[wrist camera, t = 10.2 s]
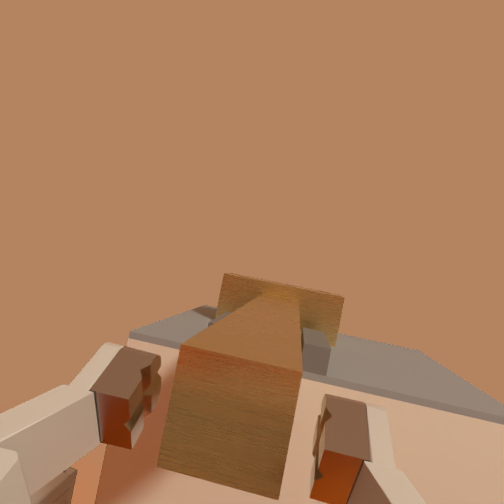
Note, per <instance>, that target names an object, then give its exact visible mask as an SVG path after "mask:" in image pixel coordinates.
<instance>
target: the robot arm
mask: <svg viewBox="0 0 504 504" xmlns="http://www.w3.org/2000/svg"><path fill="white" fill-rule="evenodd" d="M160 367H161V356H159V355H157V354H153V353H150V352H146V351H142V350H138V349H134V348H131V347H127V346H122V345H117V344H114V343H110V342H107V343H105V344H103V345H102V346H101V347H100V348H99V350H98V351H97V352H96V353H95V354H94V356H93V357H92V358H91V359H90V360H89V362H88V363H87V364H86V365H85V366H84V368H83V369H82V370H81V371H80V372H79V373H78V375H77V376H76V377H75V378H74V380H73V381H72V382H71V383H70V384H69V385H61V386H59V387H57V388H54V389H52V390H50V391H48V392H46V393H44V394H42V395H39V396H37V397H35V398H33V399H31V400H29V401H27V402H24V403H22V404H20V405H18V406H16V407H14V408H12V409H10V410H7V411H5V412H3V413H1V414H0V504H32V501H31V497H30V496H31V495H32V494H34V493H35V492H36V491H38V490H39V489H40V488H42V487H43V486H44V485H46V484H47V483H48V482H50V481H51V480H53V479H54V478H55V477H57V476H58V475H59V474H61V473H62V472H63V471H65V470H66V469H67V468H69V467H70V466H72V465H73V464H74V463H76V462H77V461H78V460H80V459H81V458H82V457H84V456H85V455H86V454H88V453H89V452H91V451H92V450H93V449H95V448H96V447H97V446H99V445H100V442H101V443H106V444H110V445H114V446H118V447H122V448H126V449H130V450H132V449H133V447H134V445H135V443H136V441H137V439H138V438H139V436H140V434H141V432H142V430H143V428H144V417H146V416H147V415H149V414H151V413H152V411H153V409H154V407H155V405H156V403H157V400H158V397H159V394H160V390H161V377H160V375H159V374H158V371H159V369H160ZM312 455H313V457H314V462H313V465H312V469H311V478H310V496H309V498H311V499H314V500H318V501H321V502H324V503H327V504H427V503H426V502H425V501H424V499H423V498H422V497H421V495H420V494H419V493H418V491H417V490H416V488H415V487H414V486H413V484H412V483H411V482H410V480H409V479H408V477H407V476H406V475H405V473H404V472H403V471H402V470H399V469H396V466H395V459H394V452H393V446H392V439H391V432H390V425H389V418H388V412H387V409H386V408H385V407H383V406H378V405H374V404H370V403H364V402H361V401H357V400H352V399H348V398H343V397H339V396H334V395H330V394H325V395H324V397H323V400H322V403H321V414H320V415H318V418H317V422H316V426H315V431H314V438H313V448H312Z"/></svg>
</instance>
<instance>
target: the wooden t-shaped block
mask: <svg viewBox="0 0 504 504" xmlns="http://www.w3.org/2000/svg"><path fill="white" fill-rule="evenodd" d="M343 302H344V297H342V296H340V295H338V294H333V293H327V292H323V291H318V290H313V289H308V288H303V287H298V286H293V285H288V284H283V283H278V282H273V281H268V280H263V279H258V278H253V277H248V276H242V275H238V274H232V273H225V274H224V276H223V281H222V286H221V291H220V296H219V301H218V306H217V311H216V316H215V318H217V317H219V316H221V315H222V314H224V313H226V312H232V313H231V314H229V315H227V316H226V317H224V318H222V319H221V320H219V321H218V322H216V323H214V324H213V325H211V326H209V327H208V328H206V329H205V330H203V331H201V332H200V333H198V334H197V335H195V336H193V337H192V338H190V339H188V340H187V341H185V342H184V343H182V344H181V346H180V351H179V356H178V361H177V366H176V371H175V376H174V381H173V386H172V391H171V396H170V401H169V406H168V411H167V416H166V421H165V426H164V431H163V436H162V441H161V446H160V451H159V456H158V461H157V466H156V467H158V468H162V469H166V470H169V471H173V472H177V473H180V474H184V475H187V476H191V477H195V478H198V479H202V480H206V481H209V482H213V483H217V484H220V485H224V486H228V487H231V488H235V489H238V490H242V491H246V492H249V493H253V494H257V495H260V496H264V497H268V498H271V499H275V500H279V495H280V490H281V484H282V479H283V474H284V469H285V463H286V458H287V453H288V447H289V442H290V437H291V432H292V426H293V421H294V416H295V410H296V405H297V400H298V395H299V389H300V384H301V379H302V373H303V367H302V349H301V334H302V329H303V328H308V329H312V330H317V331H322V332H324V333H325V336H326V338H327V340H328V343H329V345H330V346H333V347H335V345H336V340H337V335H338V329H339V324H340V318H341V313H342V308H343Z"/></svg>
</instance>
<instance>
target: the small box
mask: <svg viewBox="0 0 504 504" xmlns="http://www.w3.org/2000/svg"><path fill="white" fill-rule="evenodd" d="M76 475H77V470H76V469H74V468H71V467H69V468H67V469H66V470H65V471H63V472H62V473H61V474H59V475H58V476H57V477H55V478H54V479H53V480H51V481H50V482H48V483H47V484H46V485H44V486H43V487H42V488H40V489H39V490H38V491H36V492H35V493H34V494H32V495H31V496H30V497H31V501H32V504H71V499H72V494H73V488H74V484H75V479H76Z"/></svg>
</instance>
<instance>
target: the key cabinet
mask: <svg viewBox="0 0 504 504" xmlns="http://www.w3.org/2000/svg"><path fill="white" fill-rule="evenodd" d="M216 311H217V307H212V306H207V305H204V306H201V307H198V308H195V309H192V310H190V311H187V312H184V313H181V314H178V315H175V316H172V317H169V318H167V319H164V320H161V321H158V322H155V323H152V324H149V325H147V326H144V327H141V328H138V329H135V330H132V331H130V333H129V338H128V344H127V347H131V348H134V349H138V350H142V351H146V352H150V353H153V354H157V355H159V356H161V367H160V369H159V371H158V374H159V375H160V377H161V390H160V394H159V397H158V400H157V403H156V405H155V407H154V409H153V411H152V413H151V414H149V415H147V416H146V417H144V428H143V430H142V432H141V434H140V436H139V438H138V439H137V441H136V443H135V445H134V447H133V449H132V450H130V449H126V448H122V447H118V446H114V445H110V444H107V446H106V451H105V456H104V461H103V466H102V471H101V476H100V481H99V486H98V490H97V495H96V501H95V504H327V503H324V502H321V501H318V500H314V499H311V498H309V496H310V478H311V469H312V465H313V462H314V457H313V455H312V448H313V438H314V431H315V426H316V422H317V418H318V415H320V414H321V403H322V400H323V397H324V395H325V394H330V395H334V396H339V397H343V398H348V399H352V400H357V401H361V402H364V403H370V404H374V405H378V406H383V407H385V408H386V409H387V412H388V418H389V425H390V432H391V439H392V446H393V452H394V459H395V466H396V469H399V470H402V471H403V472H404V473H405V475H406V476H407V477H408V479H409V480H410V482H411V483H412V484H413V486H414V487H415V488H416V490H417V491H418V493H419V494H420V495H421V497H422V498H423V499H424V501H425V502H426V503H427V504H504V405H503V404H501V403H500V402H498V401H497V400H495V399H493V398H492V397H490V396H489V395H487V394H486V393H484V392H483V391H481V390H479V389H478V388H476V387H475V386H473V385H472V384H470V383H469V382H467V381H466V380H464V379H462V378H461V377H459V376H458V375H456V374H455V373H453V372H451V371H450V370H448V369H447V368H445V367H444V366H442V365H441V364H439V363H438V362H436V361H435V360H433V359H431V358H430V357H428V356H427V355H425V354H424V353H422V352H421V351H418V350H413V349H409V348H404V347H399V346H395V345H390V344H385V343H381V342H376V341H371V340H367V339H362V338H357V337H353V336H348V335H343V334H338V335H337V340H336V345H335V347H333V346H330V345H329V343H328V340H327V338H326V336H325V333H324V332H322V331H317V330H312V329H308V328H303V329H302V334H301V349H302V367H303V373H302V379H301V384H300V389H299V395H298V400H297V405H296V410H295V416H294V421H293V426H292V432H291V437H290V442H289V447H288V453H287V458H286V463H285V469H284V474H283V479H282V484H281V490H280V495H279V500H275V499H271V498H268V497H264V496H260V495H257V494H253V493H249V492H246V491H242V490H238V489H235V488H231V487H228V486H224V485H220V484H217V483H213V482H209V481H206V480H202V479H198V478H195V477H191V476H187V475H184V474H180V473H177V472H173V471H169V470H166V469H162V468H158V467H156V466H157V461H158V456H159V451H160V446H161V441H162V436H163V431H164V426H165V421H166V416H167V411H168V406H169V401H170V396H171V391H172V386H173V381H174V376H175V371H176V366H177V361H178V356H179V351H180V346H181V344H182V343H184V342H185V341H187V340H188V339H190V338H192V337H193V336H195V335H197V334H198V333H200V332H201V331H203V330H205V329H206V328H208V327H209V326H211V325H213V324H214V323H216V322H218V321H219V320H221V319H222V318H224V317H226V316H227V315H229V314H231V313H232V312H226V313H224V314H222V315H221V316H219V317H217V318H215V316H216Z"/></svg>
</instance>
